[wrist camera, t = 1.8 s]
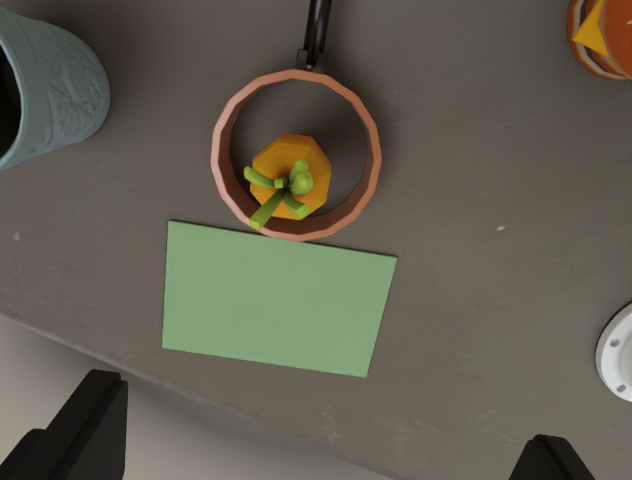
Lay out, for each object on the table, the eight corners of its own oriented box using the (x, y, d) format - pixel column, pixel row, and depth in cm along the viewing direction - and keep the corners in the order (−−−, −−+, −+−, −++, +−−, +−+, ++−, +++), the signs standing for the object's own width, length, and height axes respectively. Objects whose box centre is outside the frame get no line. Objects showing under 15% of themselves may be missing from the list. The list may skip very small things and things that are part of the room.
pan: (356, 234, 37) (361, 252, 33) (216, 211, 36) (204, 227, 32) (423, -69, 29) (439, -91, 25) (245, -105, 28) (234, -134, 24)
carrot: (277, 189, 35) (249, 261, 21) (260, 129, 33) (217, 164, 19) (335, 175, 35) (346, 238, 21) (320, 114, 33) (322, 138, 19)
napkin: (397, 256, 37) (397, 258, 37) (365, 375, 42) (366, 377, 42) (169, 219, 36) (168, 220, 36) (162, 346, 41) (161, 347, 40)
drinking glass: (-32, 97, 33) (-214, 106, 21) (21, -23, 30) (-158, -86, 19) (88, 175, 35) (-22, 220, 24) (148, 70, 32) (55, 64, 21)
